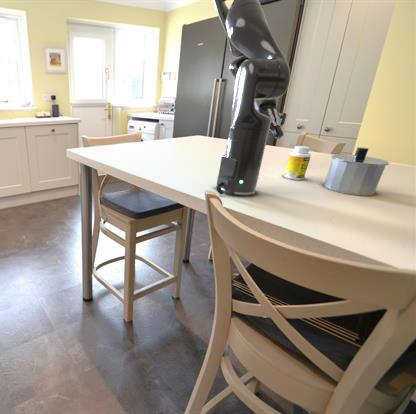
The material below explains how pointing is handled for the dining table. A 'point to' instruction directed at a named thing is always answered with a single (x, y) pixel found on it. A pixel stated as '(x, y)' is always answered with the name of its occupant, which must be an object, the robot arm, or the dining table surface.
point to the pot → (353, 178)
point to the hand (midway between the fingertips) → (279, 137)
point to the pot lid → (360, 158)
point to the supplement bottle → (298, 163)
